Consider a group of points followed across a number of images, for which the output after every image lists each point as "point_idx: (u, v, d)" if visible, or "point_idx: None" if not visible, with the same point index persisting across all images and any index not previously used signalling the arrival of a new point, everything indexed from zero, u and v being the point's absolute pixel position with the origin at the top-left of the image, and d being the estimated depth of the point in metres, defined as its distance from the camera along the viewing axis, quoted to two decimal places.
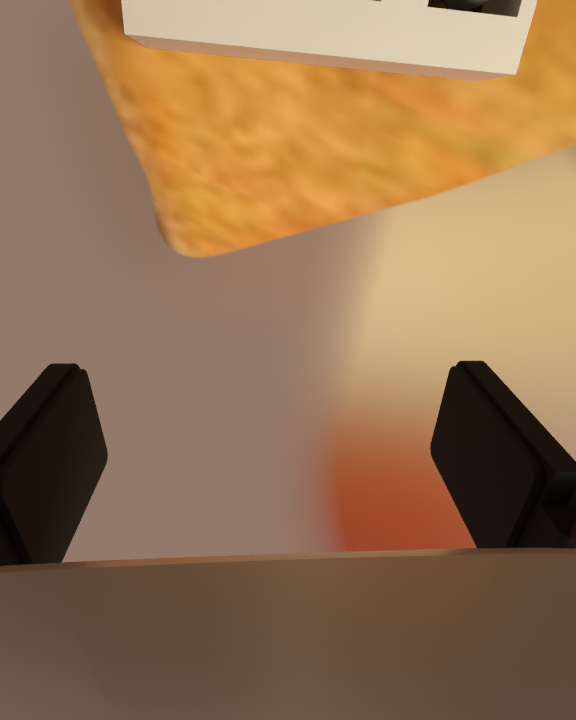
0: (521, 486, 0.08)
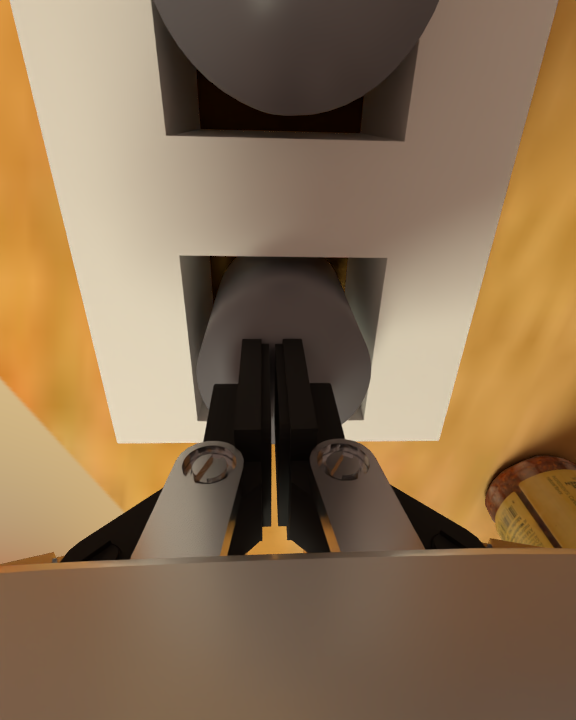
0: (278, 444, 0.08)
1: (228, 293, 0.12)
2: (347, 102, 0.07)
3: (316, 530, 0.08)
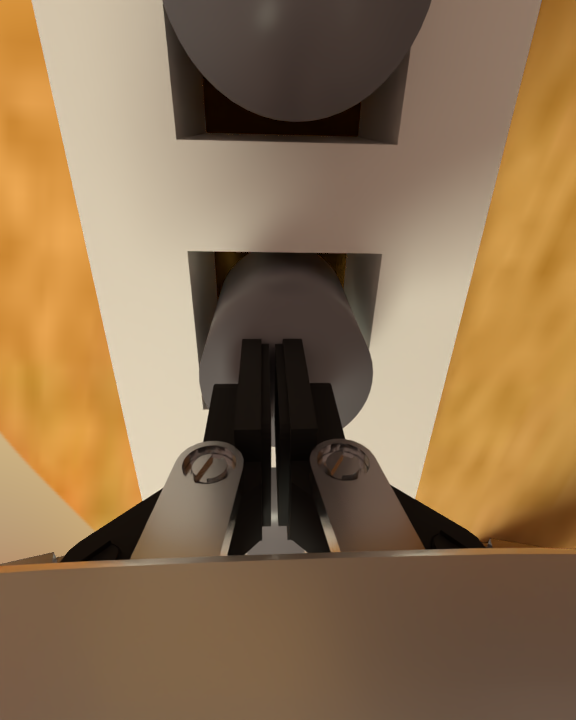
0: (278, 444, 0.08)
1: None
2: None
3: (316, 531, 0.08)
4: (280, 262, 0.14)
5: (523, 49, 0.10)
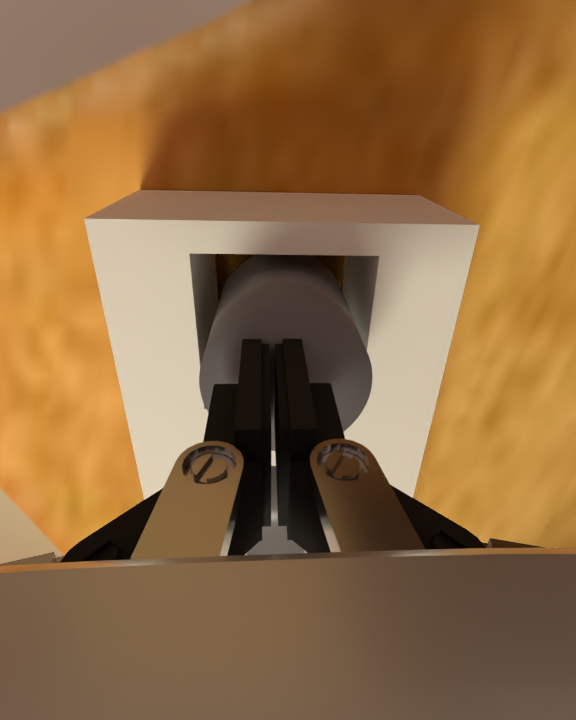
0: (278, 444, 0.08)
1: None
2: None
3: (316, 530, 0.08)
4: None
5: (442, 359, 0.15)
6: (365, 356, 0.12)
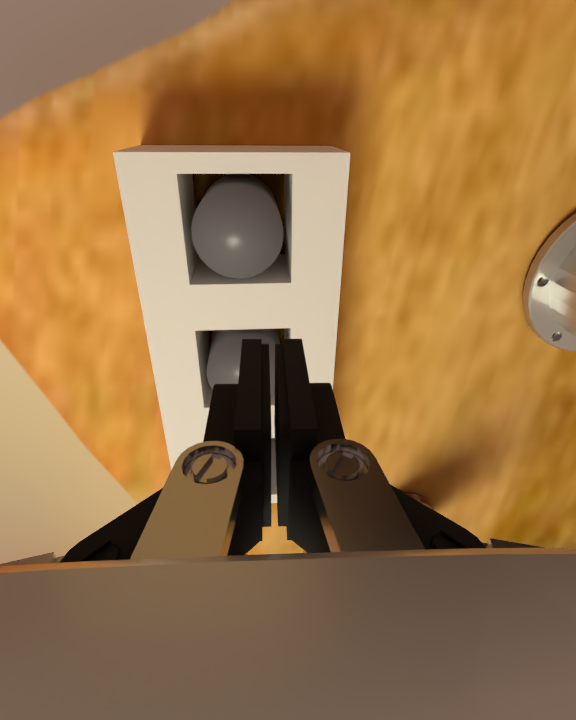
0: (278, 444, 0.08)
1: None
2: None
3: (317, 530, 0.08)
4: None
5: (340, 245, 0.24)
6: (277, 215, 0.22)
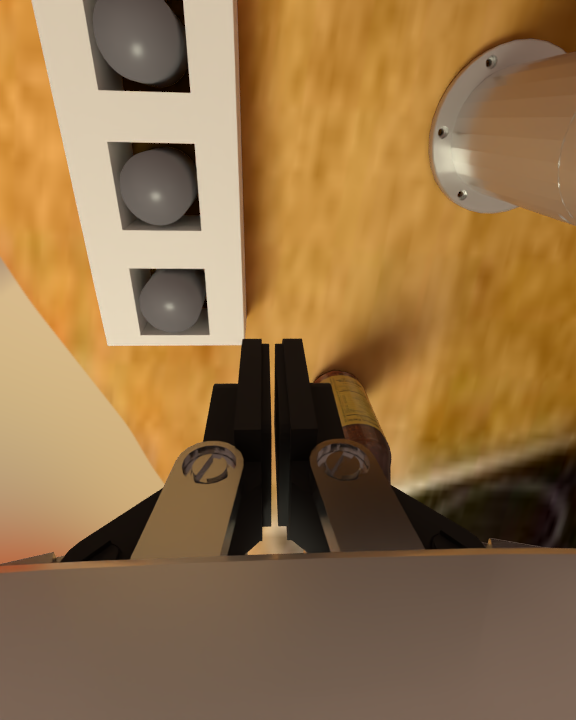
0: (278, 444, 0.08)
1: (151, 276, 0.35)
2: (172, 222, 0.31)
3: (317, 531, 0.08)
4: (158, 148, 0.32)
5: (232, 53, 0.27)
6: (169, 13, 0.25)
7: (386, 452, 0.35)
